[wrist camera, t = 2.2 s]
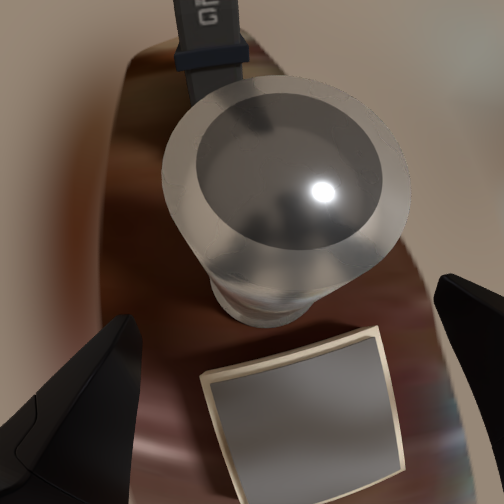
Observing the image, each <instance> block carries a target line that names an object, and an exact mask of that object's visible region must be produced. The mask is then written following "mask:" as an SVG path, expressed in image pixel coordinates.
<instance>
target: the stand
mask: <svg viewBox="0 0 504 504" xmlns="http://www.w3.org/2000/svg"><path fill="white" fill-rule="evenodd" d="M199 377H200V381H201V385H202V388H203V392H204V395H205V399H206V402H207V406H208V409H209V413H210V416H211V419H212V422H213V426H214V429H215V432H216V435H217V438H218V441H219V445H220V448H221V451H222V454H223V457H224V459H225V462H226V465H227V468H228V471H229V474H230V477H231V479H232V482H233V485H234V487H235V490H236V493H237V495H238V498H239V501H240V503H241V504H323V503H326V502H329V501H332V500H335V499H338V498H341V497H344V496H347V495H349V494H352V493H355V492H357V491H360V490H362V489H365V488H367V487H369V486H372V485H374V484H376V483H379V482H381V481H383V480H385V479H387V478H389V477H391V476H394V475H396V474H398V473H400V472H402V471H404V470H405V461H404V453H403V446H402V439H401V433H400V426H399V420H398V415H397V409H396V404H395V398H394V393H393V388H392V384H391V379H390V374H389V370H388V365H387V361H386V357H385V353H384V349H383V345H382V341H381V337H380V333H379V329H378V325H377V326H369V327H361V328H358V329H355V330H352V331H350V332H347V333H344V334H341V335H338V336H335V337H332V338H329V339H326V340H322V341H319V342H316V343H313V344H309V345H306V346H303V347H299V348H296V349H293V350H289V351H286V352H282V353H278V354H275V355H271V356H267V357H263V358H259V359H255V360H251V361H247V362H243V363H239V364H235V365H230V366H226V367H221V368H217V369H212V370H207V371H205V372H204V373H203V374H201V375H200V376H199Z"/></svg>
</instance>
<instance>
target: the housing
mask: <svg viewBox="0 0 504 504" xmlns="http://www.w3.org/2000/svg"><path fill="white" fill-rule="evenodd" d="M162 187H163V192H164V197H165V201H166V204H167V207H168V209H169V212H170V214H171V217H172V219H173V220H174V222H175V224H176V225H177V227H178V229H179V230H180V232H181V234H182V235H183V237H184V238H185V240H186V242H187V243H188V245H189V246H190V248H191V249H192V251H193V252H194V254H195V255H196V257H197V259H198V260H199V262H200V263H201V265H202V266H203V268H204V269H205V271H206V272H207V274H208V275H209V277H210V283H211V287H212V290H213V293H214V295H215V297H216V299H217V301H218V302H219V304H220V305H221V306H222V307H223V309H224V310H225V311H226V312H227V313H228V314H229V315H231V316H232V317H233V318H235V319H236V320H238V321H240V322H242V323H243V324H246V325H249V326H253V327H257V328H274V327H278V326H282V325H285V324H288V323H290V322H292V321H294V320H296V319H297V318H299V317H300V316H302V315H303V314H304V313H305V312H306V311H307V310H308V309H309V308H310V306H311V305H312V304H313V302H315V301H317V300H318V299H320V298H322V297H324V296H326V295H327V294H329V293H331V292H333V291H334V290H336V289H338V288H339V287H341V286H343V285H345V284H346V283H348V282H350V281H351V280H353V279H355V278H357V277H358V276H360V275H362V274H363V273H365V272H367V271H368V270H370V269H371V268H372V267H373V266H375V265H376V264H377V263H378V262H380V261H381V260H382V259H383V258H384V257H385V256H386V255H387V254H388V253H389V251H390V250H391V249H392V248H393V247H394V245H395V243H396V242H397V240H398V239H399V237H400V236H401V233H402V231H403V229H404V226H405V224H406V222H407V218H408V214H409V210H410V203H411V182H410V176H409V170H408V167H407V163H406V161H405V157H404V155H403V153H402V150H401V148H400V146H399V144H398V142H397V141H396V139H395V138H394V136H393V134H392V133H391V131H390V130H389V129H388V128H387V126H386V125H385V124H384V123H383V121H382V120H381V119H380V118H379V117H378V116H377V115H376V114H375V113H374V112H373V111H371V110H370V109H369V108H368V107H367V106H365V105H364V104H363V103H362V102H360V101H359V100H357V99H356V98H354V97H352V96H351V95H349V94H347V93H345V92H343V91H342V90H340V89H337V88H335V87H333V86H330V85H328V84H324V83H322V82H318V81H315V80H311V79H307V78H302V77H294V76H278V75H272V76H260V77H254V78H249V79H244V80H241V81H237V82H234V83H231V84H229V85H226V86H224V87H221V88H219V89H217V90H216V91H214V92H212V93H210V94H208V95H207V96H206V97H204V98H203V99H201V100H200V101H199V102H197V103H196V104H195V105H194V106H193V107H192V108H191V109H190V110H189V111H188V112H187V113H186V114H185V115H184V116H183V118H182V119H181V120H180V121H179V123H178V124H177V126H176V127H175V129H174V131H173V132H172V134H171V136H170V139H169V141H168V143H167V146H166V150H165V153H164V157H163V164H162Z"/></svg>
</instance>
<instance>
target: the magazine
mask: <svg viewBox="0 0 504 504" xmlns="http://www.w3.org/2000/svg"><path fill="white" fill-rule="evenodd" d="M173 2H174V10H175V17H176V23H177V30H178V36H179V44H178V47H177V49H176V52H175V54H174V59H175V65H176V70H177V72H179V71H184V70H185V76H186V81H187V86H188V92H189V97H190V102H191V108H192V107H193V106H194V105H195V104H196V103H197V102H199V101H200V100H201V99H203V98H204V97H206V96H207V95H208V94H210V93H212V92H214V91H216V90H217V89H219V88H221V87H224V86H226V85H229V84H231V83H234V82H237V81H241V80H243V74H242V63H243V62H249V46H248V44H247V43H246V41H245V40H244V38H243V37H242V35H241V34H240V26H239V10H238V0H173Z"/></svg>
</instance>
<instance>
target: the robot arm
mask: <svg viewBox="0 0 504 504" xmlns="http://www.w3.org/2000/svg"><path fill="white" fill-rule="evenodd" d="M434 305H435V307H436V309H437V312H438V314H439V316H440V318H441V321H442V324H443V326H444V329H445V331H446V334H447V336H448V339H449V341H450V344H451V346H452V348H453V350H454V352H455V354H456V356H457V358H458V360H459V363H460V365H461V367H462V369H463V372H464V374H465V376H466V378H467V381H468V383H469V385H470V388H471V390H472V393H473V395H474V398H475V400H476V403H477V405H478V408H479V410H480V413H481V416H482V419H483V421H484V424H485V427H486V430H487V433H488V436H489V439H490V442H491V445H492V449H493V453H494V456H495V460H496V463H497V467H498V471H499V475H500V479H501V483H502V488H503V492H504V297H503V296H501V295H499V294H497V293H494V292H492V291H490V290H488V289H486V288H484V287H482V286H479V285H477V284H475V283H473V282H471V281H468V280H466V279H464V278H462V277H459V276H457V275H454V274H451V273H450V274H445V275H442V276H441V277H440V278H439V282H438V284H437V288H436V291H435V294H434ZM141 359H142V336H141V334H140V331H139V329H138V327H137V324H136V322H135V319H134V317H133V316H132V315H130V314H124V315H117V316H116V317H115V318H114V319H113V320H111V321H110V322H109V323H108V324H107V325H106V326H105V327H104V328H103V329H102V330H101V331H100V332H98V333H97V334H96V335H95V336H94V337H93V338H92V339H91V340H90V341H89V342H88V343H87V344H86V345H85V346H84V347H82V348H81V349H80V350H79V351H78V352H77V353H76V354H75V355H74V356H73V357H72V358H71V359H70V360H69V361H68V362H67V363H66V364H65V365H64V366H63V367H62V368H61V369H60V370H59V371H58V372H57V373H56V374H54V376H52V377H51V378H50V379H49V380H48V381H47V382H46V383H45V384H44V385H43V386H42V387H41V388H40V389H39V391H37V392H36V395H33V396H32V397H31V399H29V400H28V401H27V403H26V404H24V405H23V406H22V407H21V408H20V410H18V411H17V412H16V413H15V414H14V415H13V416H12V417H11V418H10V419H9V420H8V421H7V422H6V423H5V424H3V425H2V426H1V427H0V504H128V501H129V484H130V471H131V460H132V450H133V440H134V432H135V424H136V416H137V409H138V402H139V394H140V380H141Z"/></svg>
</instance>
